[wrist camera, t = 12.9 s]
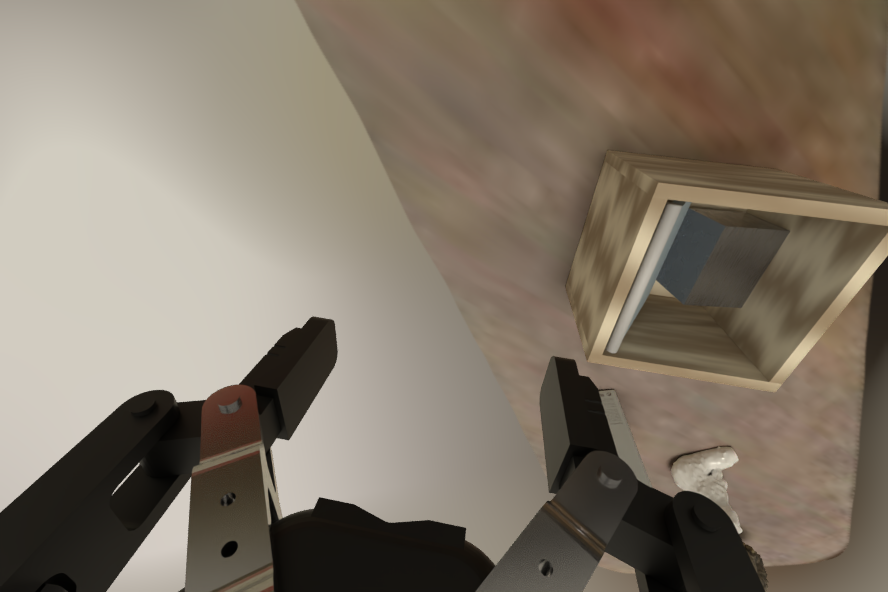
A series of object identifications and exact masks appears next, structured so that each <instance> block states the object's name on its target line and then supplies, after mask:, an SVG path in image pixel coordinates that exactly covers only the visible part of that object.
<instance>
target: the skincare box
mask: <svg viewBox="0 0 888 592" xmlns="http://www.w3.org/2000/svg"><path fill="white" fill-rule="evenodd" d="M599 394H600V397H601V400H602V404H603V407H604V410H605V415H606V417H607V420H608V424H609V427H610V430H611V433H612V437H613V440H614V443H615V447H616V450H617V453H618V456H619V458H621V459H622V460H623V461H624V462H626V463H627V464H628V465H629V467H630V468H631V469H632V471H633V472H634V474H635V476H636V478H637V479H638V480H639V481H641V482H642V483H644V484H646V485H647V486H649V487H652V486H651V483H650V480H649V478H648V475H647V472H646V470H645V467H644V465H643V462H642V459H641V457H640V454H639V452H638V449H637V446H636V444H635V441H634V438H633V436H632V433H631V431H630V428H629V425H628V423H627V420H626V418H625V415H624V412H623V410H622V407H621V405H620V402H619V400H618V397H617V394H616V392H615V390H605V391H599Z"/></svg>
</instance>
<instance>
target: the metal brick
mask: <svg viewBox="0 0 888 592" xmlns="http://www.w3.org/2000/svg"><path fill="white" fill-rule="evenodd" d="M789 233H790V231H789V230H787V229H785V228H782V227H780V226H777V225H775V224H773V223H770V222H768V221H766V220H763V219H761V218H759V217H756V216H754V215H751V214H749V213H747V212H736V211H723V210H710V209H697V208H689V209H688V211H687V213H686V215H685V217H684V219H683V222H682V224H681V226H680V228H679V230H678V233H677V235H676V237H675V239H674V241H673V243H672V246H671V248H670V250H669V252H668V254H667V257H666V259H665V261H664V263H663V265H662V267H661V270H660V272H659V274H658V276H657V278H656V281H657V282H659V283H660V284H661V285H662V286H663V287H664V288H665V289H666V290H668V291H669V292H670V293H671V294H672V295H673V296H674V297H675V298H676V299H678V300H679V301H680V302H681V303H682V304H683V305H695V306H713V307H731V308H742V306H743V305H744V303H745V302H746V300H747V299H748V297H749V295H750V294H751V292H752V291H753V289H754V288H755V286H756V284H757V283H758V281H759V280H760V278H761V277H762V275H763V273H764V272H765V270H766V269H767V267H768V266H769V264H770V262H771V261H772V259H773V258H774V256H775V255H776V253H777V251H778V250H779V248H780V247H781V245H782V244H783V242H784V241H785V239H786V237H787V236H788V234H789Z"/></svg>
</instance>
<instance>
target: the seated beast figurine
mask: <svg viewBox="0 0 888 592" xmlns="http://www.w3.org/2000/svg"><path fill="white" fill-rule="evenodd" d="M737 461H739V460H738V457H737V455H736V453H735V452H734V450H733V449H732V447H719V446H718V448H713V449H709V450H705V451H700V452H696V453H693V454H689V455H683V456H681V457H680V458H678V459H677V461H676V462H674V463H673V466H672V469H671V474H672V475H673V478H674V482H675V483H676V484H677V486H678V487H680V488H681V489H683V490H684V491H692V492H696V493H699V494H701V495H704V496H705V497H707V498H709V499H710V500H712V501H713V502H715V503H716V504H717V505H718V506H720V507H721V508H722V509H723V510H724V511H725V512H726V514H727V515H728V516H729V517H730V519H731V520H732V522H733V523H734V525H735V527H736V529H737V531H738V534H740V533H742V529H741V528H740V524H739V521H738V520H739V518H738V516H737V513H736V512H735V511H734V510H732V507H731V506H730V505H729V503H728V494H727V492H726V491H727V490H726V489H727V482H726V480H725V479H723V478H722V477H723V474H722V469H725V468H729V467H730V466H733V464H734V463H736V462H737Z"/></svg>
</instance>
